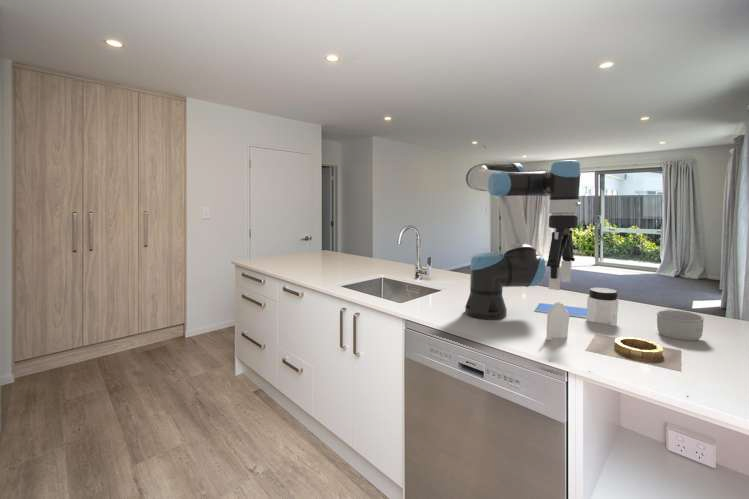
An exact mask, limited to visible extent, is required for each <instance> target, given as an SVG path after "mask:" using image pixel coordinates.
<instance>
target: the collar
mask: <svg viewBox="0 0 749 499" xmlns="http://www.w3.org/2000/svg"><path fill="white" fill-rule="evenodd" d="M615 338H616V339H615V342H614V349H616V350H617V351H618V352H620V353H622V354H625V355H627V356H631V357H635V358H640V359H651V360H656V359H660V358H662V353H663V347H664V346H661V344H659V343H657V342H654V341H650V340H648V339H644V338H638V337H630V336H628V337H627V336H620V337H615ZM626 345H627V346H626ZM628 346H637V347H642V348H646V349H649V350H640V349H635V348H631V347H628Z"/></svg>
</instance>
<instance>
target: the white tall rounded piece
mask: <svg viewBox="0 0 749 499" xmlns="http://www.w3.org/2000/svg"><path fill="white" fill-rule="evenodd" d="M565 306H566V305H564V303H561V302H559V301H557V302H554V303H553V307H552V308H551V309H550V310H549V311H548V313H547V317H546V319H547V320H546V334H545V336H546V338H545V339H546V340H547V341H550V342H551V341H552V340H554V338H555V339H565V338H568V335H569V334H568V333H569V325H570V324H569V322H570V316H569V313H568V311H567V310H566V308H565Z"/></svg>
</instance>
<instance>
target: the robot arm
mask: <svg viewBox="0 0 749 499" xmlns="http://www.w3.org/2000/svg"><path fill="white" fill-rule="evenodd" d="M581 175H582V174H581V163H580V162H579V161H578V160H573V159H572V160H571V159H570V160H566V159H565V160H559V161H557V160H556V161H554V162H552V163H551V167H550V170H549V171H548V170H547V171H526V170H525V169H524V167H523V165H522V164H520V163H518V162H516V163H515V162H504V163H503V162H499V163H498V162H497V163H496V162H495V163H491V162H486V163H485V162H484V163H483V162H482V163H479V164H476V165H473V166H471V167H470V168H469V170H468V171H467V172H466V174H465V182H466V185H467V187H469V189H472V190H474V191H480V192H488V193H489V194H490V196H492V197H493V198H494V199H497V201H498V207H499V212H500V218H501V223H502V224H501V226H502V230H503V236H504V240H505V241H504V242H505V247H506V250H505V252H504V253H503V252H500V251H489V252H482V253H476V254H475V255H473V256H472V257H471V259H470V267H469V268H470V278H469V279H470V280H469V281H470V283H469V284H470V285H469V286H470V289H469V291H470V292H469V295H468V298H467V301H466V304H465V306H464V308H465V310H464V311H465V312H464V313H465V314H466V316H469V317H471V318H476V319H481V320H500V319H503V318H507V311H508V310H507V306H506V303H505V300H504V297H503V288H504V287H505V288H508V287H509V288H510V287H511V288H512V287H513V288H515V287H520V288H521V287H526V288H528V287H537V286H539V285H541V283H542V282H543V281H544V278H545V274H546V269H547V268H549V270H548V275H549V276H548V290H553V291H560V289H561V287H560V286H561V282H563V283H571V280H572V262H575V259H576V258H575V257H574V246H573V245H574V244H573V230H572V229H576V228H577V227H578V223H579V222H578V220H579V216H578V215H576V214H578V213H579V207H581V202H579V199H580V198H579V197H580V184H581ZM521 196H522V197H526V196H527V197H530V196H532V197H534V196H536V197H537V196H538V197H548V196H549V208H548V209H549V210H548V212H549V214H551V215H549V216H548V228H551V229H555V231H552V232H551V241H550V246H549V252H548V258H547V263H546V261H545V258H544V257H543V256H542V255H540V254H537V251H536V248H535V247H534V246H531V243H530V239H529V234H528V233H529V232H528V227H527V224H526V218H525V213H524V209H523V203H522V199H521ZM546 267H547V268H546Z"/></svg>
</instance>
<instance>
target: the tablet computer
mask: <svg viewBox="0 0 749 499" xmlns="http://www.w3.org/2000/svg"><path fill="white" fill-rule="evenodd" d="M553 304H554V303H553ZM553 304H550V303H543V302H542V303H541V302H539V303H537V305H536V307H535V308H534V310H533V312H536V313H544V314H548V311H549V310H550V309H551V308H552V307H553ZM564 306H565V308H566V310H567V311H568V313H569V317H574V318H579V319H580V318H583V319H586V316H587V307H577V306H569V305H564Z"/></svg>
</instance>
